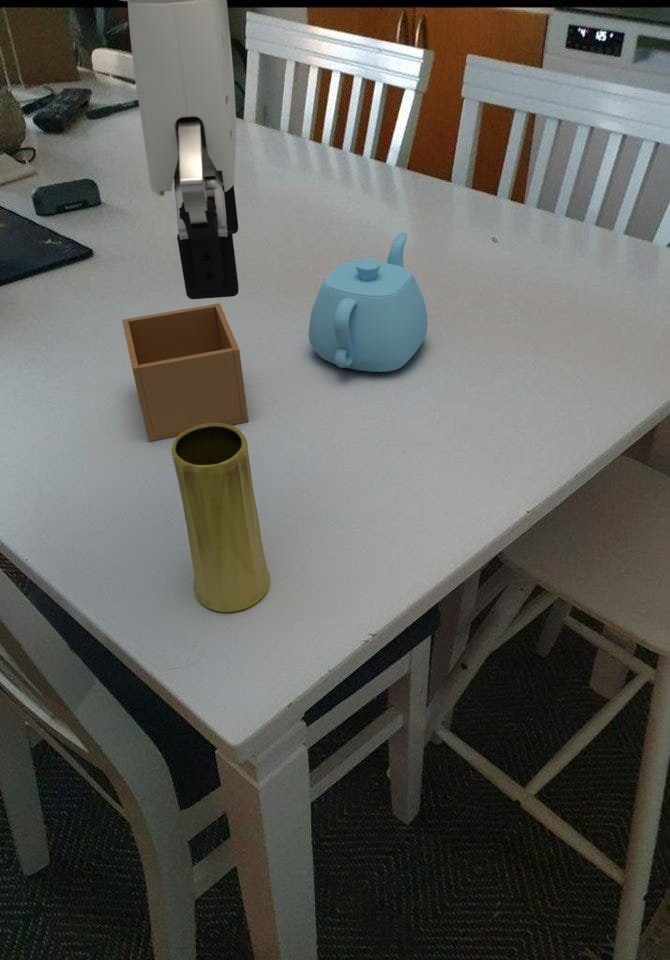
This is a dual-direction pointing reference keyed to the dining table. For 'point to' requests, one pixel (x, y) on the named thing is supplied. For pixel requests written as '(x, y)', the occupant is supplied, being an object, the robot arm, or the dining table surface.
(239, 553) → the vase
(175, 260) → the dining table surface
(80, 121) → the dining table surface
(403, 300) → the teapot
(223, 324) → the package
